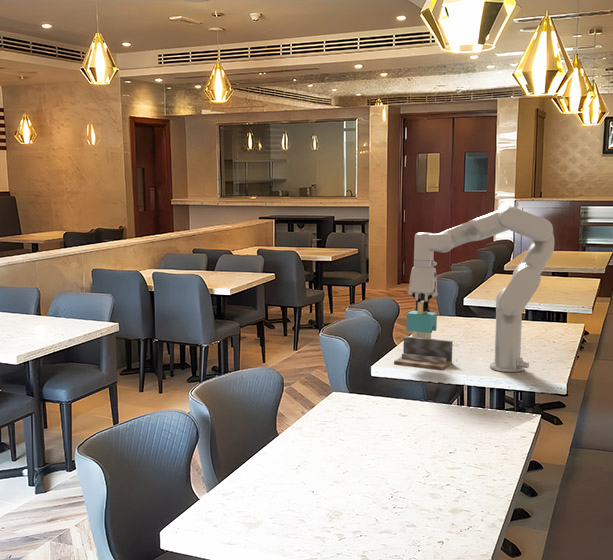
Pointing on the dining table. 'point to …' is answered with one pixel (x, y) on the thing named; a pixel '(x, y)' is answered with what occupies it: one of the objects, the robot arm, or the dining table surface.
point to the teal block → (421, 320)
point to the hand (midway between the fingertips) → (422, 310)
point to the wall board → (426, 353)
